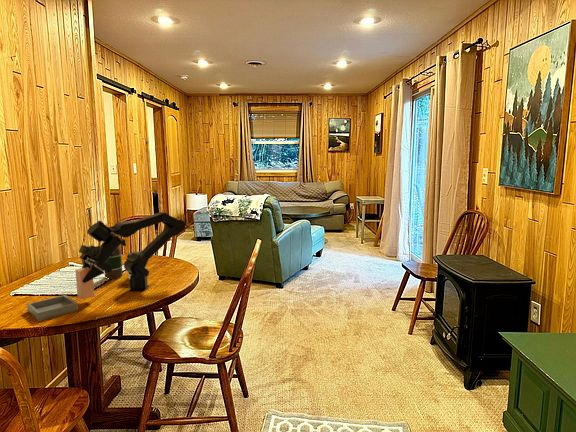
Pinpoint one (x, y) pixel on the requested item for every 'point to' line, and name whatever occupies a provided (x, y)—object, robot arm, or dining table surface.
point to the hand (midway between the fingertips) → (80, 281)
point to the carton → (84, 284)
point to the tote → (52, 307)
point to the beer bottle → (115, 264)
